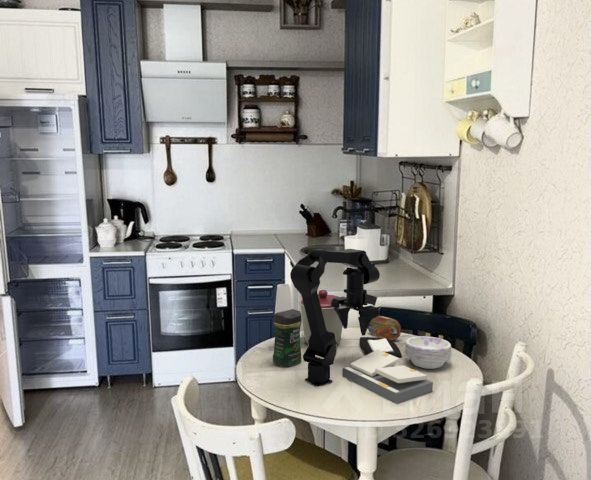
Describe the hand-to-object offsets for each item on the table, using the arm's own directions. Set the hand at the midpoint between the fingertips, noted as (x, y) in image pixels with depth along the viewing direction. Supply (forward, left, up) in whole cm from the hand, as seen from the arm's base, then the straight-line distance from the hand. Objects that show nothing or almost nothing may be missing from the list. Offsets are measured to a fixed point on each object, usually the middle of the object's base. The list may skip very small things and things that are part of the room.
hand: (354, 331), depth 186 cm
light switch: (+19, +7, -13) cm, 24 cm away
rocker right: (-1, -23, -7) cm, 24 cm away
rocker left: (-1, -12, -7) cm, 14 cm away
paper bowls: (+22, -13, -12) cm, 28 cm away
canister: (+5, +24, -12) cm, 27 cm away
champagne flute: (-10, +28, -12) cm, 32 cm away
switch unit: (-2, -17, -12) cm, 21 cm away
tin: (+30, +16, -12) cm, 36 cm away
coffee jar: (-17, +15, -12) cm, 26 cm away
